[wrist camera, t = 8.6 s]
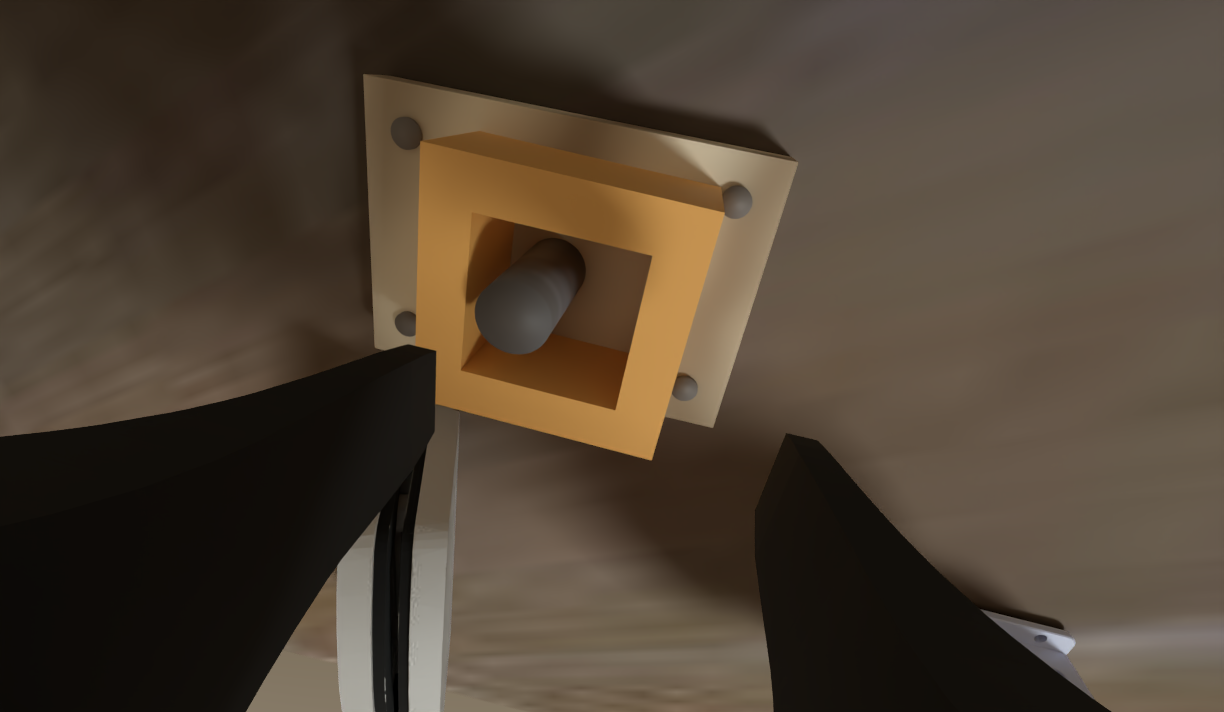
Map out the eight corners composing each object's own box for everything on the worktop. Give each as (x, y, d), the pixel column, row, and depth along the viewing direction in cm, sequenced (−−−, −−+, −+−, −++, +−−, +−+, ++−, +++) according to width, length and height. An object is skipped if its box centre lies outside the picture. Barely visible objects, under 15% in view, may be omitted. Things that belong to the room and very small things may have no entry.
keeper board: (791, 157, 17) (830, 187, 12) (712, 407, 22) (714, 512, 17) (388, 75, 18) (251, 68, 13) (393, 333, 23) (295, 408, 17)
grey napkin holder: (355, 382, 24) (280, 559, 16) (462, 387, 26) (444, 554, 17) (371, 615, 32) (325, 818, 24) (452, 611, 33) (437, 803, 25)
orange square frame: (721, 187, 17) (724, 212, 13) (661, 396, 20) (651, 460, 17) (479, 130, 17) (419, 140, 14) (463, 346, 21) (414, 398, 17)
